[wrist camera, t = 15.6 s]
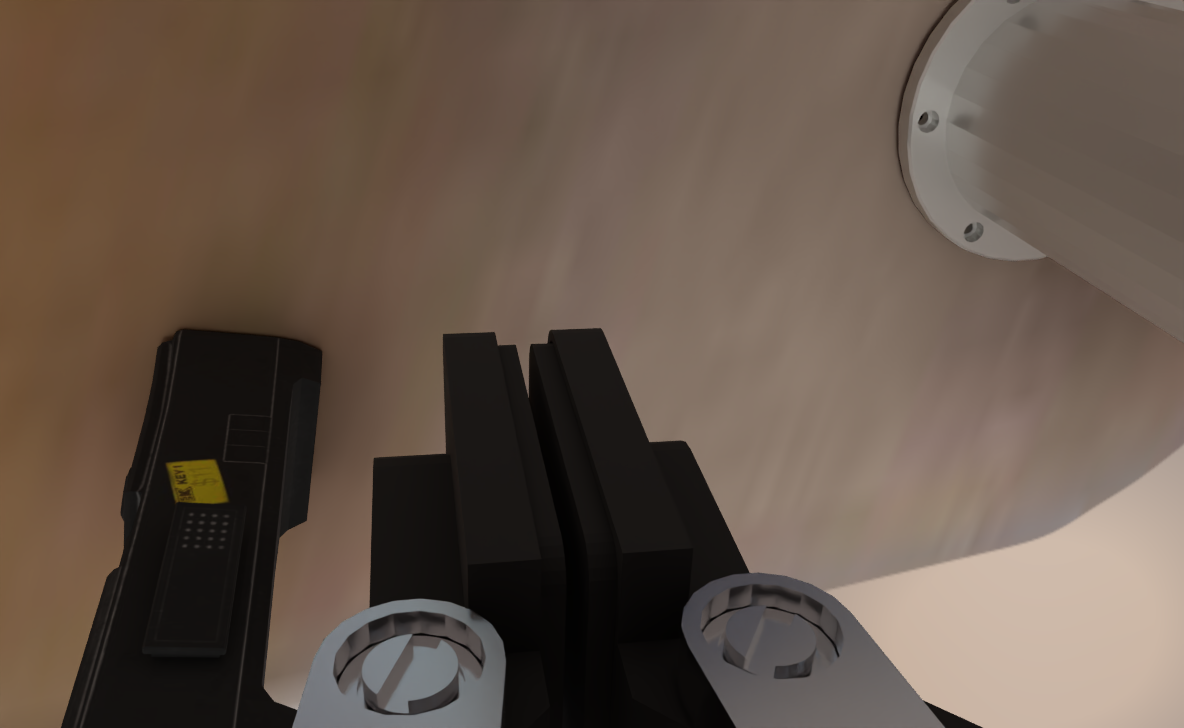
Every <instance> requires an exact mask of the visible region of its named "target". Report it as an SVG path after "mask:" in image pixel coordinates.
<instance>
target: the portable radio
mask: <svg viewBox="0 0 1184 728" xmlns="http://www.w3.org/2000/svg"><path fill="white" fill-rule="evenodd" d="M321 368H322V351H320V350H317V349H315V348H313V347H311V346H308V345H306V344H304V343H301V342H299V341H293V340H288V339H282V338H277V337H267V336H255V335H243V334H231V333H219V332H208V331H196V330H180V331H177V332H176V333H175V335H174V337H173V340H171V341H167V342H164V343H162V344H161V345H160V346H159V347H158V349H157V355H156V362H155V369H154V375H153V382H152V387H151V391H150V396H149V400H148V405H147V409H146V414H145V418H144V422H143V426H142V430H141V433H140V437H139V441H138V445H137V449H136V452H135V456H134V460H133V464H132V467H131V468H130V470H129V473H128V475H127V476H126V480H125V486H124V491H123V498H122V505H121V516H122V518H123V520H124V550H123V554H122V558H121V561H120V565H119V568H116V569H114V570H113V571H112V572H111V573H110V574H109V575H108V576H107V579H106V582H105V585H104V589H103V592H102V595H101V598H100V602H99V605H98V608H97V612H96V615H95V618H94V621H93V625H92V628H91V631H90V634H89V638H88V641H87V644H86V647H85V651H84V654H83V657H82V661H81V664H80V667H79V670H78V674H77V677H76V680H75V683H74V687H73V690H72V693H71V697H70V700H69V703H68V706H67V710H66V713H65V716H64V719H63V723H62V726H61V728H292V727H293V723H294V720H295V717H296V714H297V711H298V710H296V709H293V708H290V707H287V706H285V705H282V704H279V703H276V702H274V701H273V700H272V698H271V697H270V696H269V695H268V693H267V692H266V691H265V689H264V679H265V669H266V659H267V649H268V639H269V628H270V618H271V608H272V598H273V588H274V578H275V569H276V561H277V553H278V545H279V538H280V537H281V536H282V535H283V534H284V533H285V532H286V531H287V530H289V529H291V528H293V527H295V526H297V525H299V524H301V523H303V522H305V521H307V513H308V503H309V493H310V483H311V473H312V463H313V454H314V444H315V434H316V424H317V415H318V405H319V395H320V385H321Z"/></svg>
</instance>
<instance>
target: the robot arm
mask: <svg viewBox="0 0 1184 728" xmlns="http://www.w3.org/2000/svg"><path fill="white" fill-rule="evenodd" d="M922 114H923V117H922V119H921V120H920V121H919V118H920V116H921V115H922ZM899 158H900V163H901V168H902V173H903V178H904V181H905V183H906V186H907V188H908V190H909V193H910V195H911V197H912V200H913V202H914V204H915V205H916V207H917V208H918V209H919V211H920V212H921V213H922V215H923V216H924V217H925V219H926V220H927V221H928V223H929V224H930V225H932V226H933V227H934V228H935V229H936V230H938V231H939V232H940V233H941V234H942V235H944V236H945V237H946V238H947V239H949V240H950V241H952V242H953V243H955V244H956V245H958V246H959V247H961V248H962V249H964V250H966V251H969V252H972V253H975V254H978V255H980V256H983V257H986V258H989V259H997V260H1005V261H1025V260H1038V259H1042V258H1046V257H1049V258H1051V259H1053V260H1054V261H1056V262H1057V263H1059V264H1060V265H1062V266H1064V267H1065V268H1067V269H1068V270H1070V271H1071V272H1073V273H1074V274H1076V275H1078V276H1079V277H1081V278H1082V279H1084V280H1085V281H1087V282H1089V283H1090V284H1092V285H1093V286H1095V287H1096V288H1098V289H1100V290H1101V291H1103V292H1104V293H1106V294H1107V295H1109V296H1110V297H1112V298H1114V299H1115V300H1117V301H1118V302H1120V303H1121V304H1123V305H1125V306H1126V307H1128V308H1129V309H1131V310H1132V311H1134V312H1135V313H1137V314H1139V315H1140V316H1142V317H1143V318H1145V319H1146V320H1148V321H1150V322H1151V323H1153V324H1154V325H1156V326H1157V327H1159V328H1160V329H1162V330H1164V331H1165V332H1167V333H1168V334H1170V335H1171V336H1173V337H1175V338H1176V339H1178V340H1179V341H1181V342H1182V343H1184V0H958V1H957V2H956V3H955V4H954V5H953V6H952V7H951V8H950V9H949V11H948V12H947V13H946V15H945V16H944V17H943V19H942V20H941V21H940V23H939V24H938V25H937V26H936V28H935V29H934V30H933V32H932V33H931V34H930V36H929V38H928V40H927V42H926V44H925V45H924V47H923V49H922V51H921V53H920V55H919V57H918V58H917V60H916V62H915V64H914V67H913V70H912V73H911V75H910V78H909V81H908V84H907V87H906V90H905V92H904V96H903V102H902V108H901V113H900V119H899ZM443 366H444V399H445V433H446V454H432V455H414V456H397V457H379V458H374V464H373V498H372V536H371V575H370V608H368V609H365V610H363V611H362V612H360V613H358V614H356V615H354V616H352V617H350V618H349V619H347V620H345V621H343V622H342V623H341V624H340V625H339V626H338V627H336V628H335V629H334V630H333V631H332V632H331V633H330V634H329V635H328V636H327V637H326V638H325V639H324V640H323V642H322V644H321V646H320V648H319V650H318V651H317V653H316V655H315V657H314V659H313V662H312V665H311V669H310V672H309V675H308V678H307V682H306V685H305V688H304V691H303V694H302V698H301V701H300V704H299V707H298V711H297V714H296V717H295V720H294V723H293V727H292V728H982V727H980V726H978V725H975V724H974V723H971V722H969V721H967V720H965V719H963V718H961V717H958V716H956V715H954V714H952V713H950V712H947V711H945V710H943V709H941V708H939V707H936V706H934V705H932V704H930V703H928V702H925V701H923V700H922V699H921V698H920V696H919V695H918V694H917V693H916V691H915V690H914V689H913V688H912V687H911V685H910V684H909V683H908V682H907V681H906V679H905V678H904V677H903V676H902V674H901V673H900V672H899V671H898V669H897V668H896V667H895V666H894V665H893V663H892V662H891V661H890V660H889V658H888V657H887V656H886V655H885V654H884V652H883V651H882V650H881V649H880V647H879V646H878V645H877V644H876V643H875V641H874V640H873V639H872V638H871V636H870V635H869V634H868V633H867V631H866V630H865V629H864V628H863V627H862V625H861V624H860V623H859V622H858V620H857V619H856V618H855V617H854V616H853V614H852V613H851V612H850V611H849V610H848V609H847V608H845V607H844V606H843V605H842V604H841V603H840V602H839V601H838V600H837V599H836V598H835V597H833V596H832V595H830V594H828V593H826V592H824V591H823V590H821V589H819V588H817V587H815V586H814V585H812V584H809V583H806V582H803V581H800V580H797V579H794V578H790V577H787V576H782V575H774V574H766V573H749V571H748V568H747V566H746V564H745V562H744V560H743V558H742V556H741V554H740V552H739V550H738V548H737V545H736V543H735V541H734V539H733V537H732V535H731V533H730V531H729V529H728V527H727V525H726V522H725V520H724V518H723V516H722V514H721V512H720V510H719V508H718V506H717V504H716V501H715V499H714V497H713V495H712V493H711V491H710V489H709V487H708V485H707V483H706V481H705V478H704V476H703V474H702V472H701V470H700V468H699V466H698V464H697V462H696V460H695V458H694V455H693V453H692V451H691V449H690V448H689V446H688V445H687V443H686V442H684V441H665V442H649V440H648V438H647V436H646V433H645V431H644V428H643V426H642V424H641V421H640V419H639V416H638V414H637V412H636V409H635V407H634V404H633V402H632V400H631V397H630V395H629V392H628V390H627V388H626V385H625V383H624V380H623V378H622V376H621V373H620V371H619V368H618V366H617V364H616V361H615V359H614V356H613V354H612V352H611V349H610V347H609V344H608V342H607V340H606V337H605V335H604V332H603V331H602V329H601V328H593V329H567V330H550V332H549V335H548V344H531V346H530V353H529V398H528V394H527V390H526V386H525V382H524V377H523V373H522V369H521V365H520V361H519V357H518V352H517V348H516V345H499V346H498V345H497V340H496V335H495V332H488V333H461V334H443Z"/></svg>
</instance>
